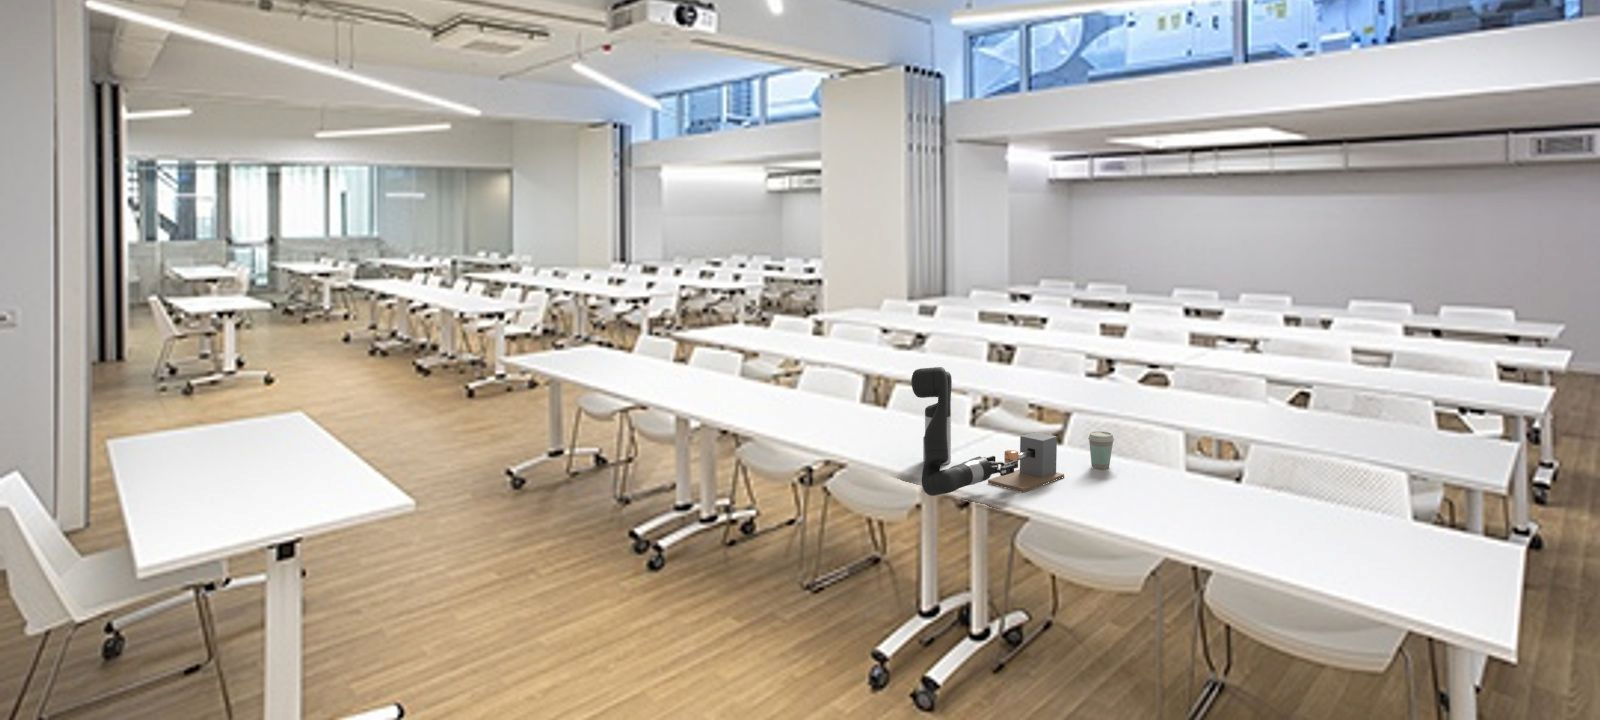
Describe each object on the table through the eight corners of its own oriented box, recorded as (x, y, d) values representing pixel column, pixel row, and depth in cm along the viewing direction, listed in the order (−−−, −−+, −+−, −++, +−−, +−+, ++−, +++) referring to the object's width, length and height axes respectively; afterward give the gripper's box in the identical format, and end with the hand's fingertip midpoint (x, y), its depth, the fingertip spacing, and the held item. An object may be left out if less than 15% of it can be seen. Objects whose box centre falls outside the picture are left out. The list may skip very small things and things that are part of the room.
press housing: (1023, 492, 291) (1023, 450, 289) (988, 483, 301) (988, 442, 299) (1064, 477, 306) (1065, 437, 303) (1029, 469, 316) (1029, 430, 314)
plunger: (1012, 469, 294) (1012, 454, 293) (1001, 466, 297) (1001, 451, 296) (1037, 461, 303) (1038, 446, 302) (1026, 458, 306) (1026, 444, 305)
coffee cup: (1114, 471, 312) (1115, 437, 310) (1088, 470, 313) (1089, 436, 311) (1111, 464, 320) (1112, 431, 318) (1086, 463, 322) (1087, 430, 320)
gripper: (991, 464, 278) (1023, 454, 289) (955, 455, 289) (987, 446, 299) (991, 488, 280) (1023, 477, 290) (955, 478, 290) (987, 468, 301)
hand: (1005, 461), depth 295 cm, fingers open, 8 cm apart
